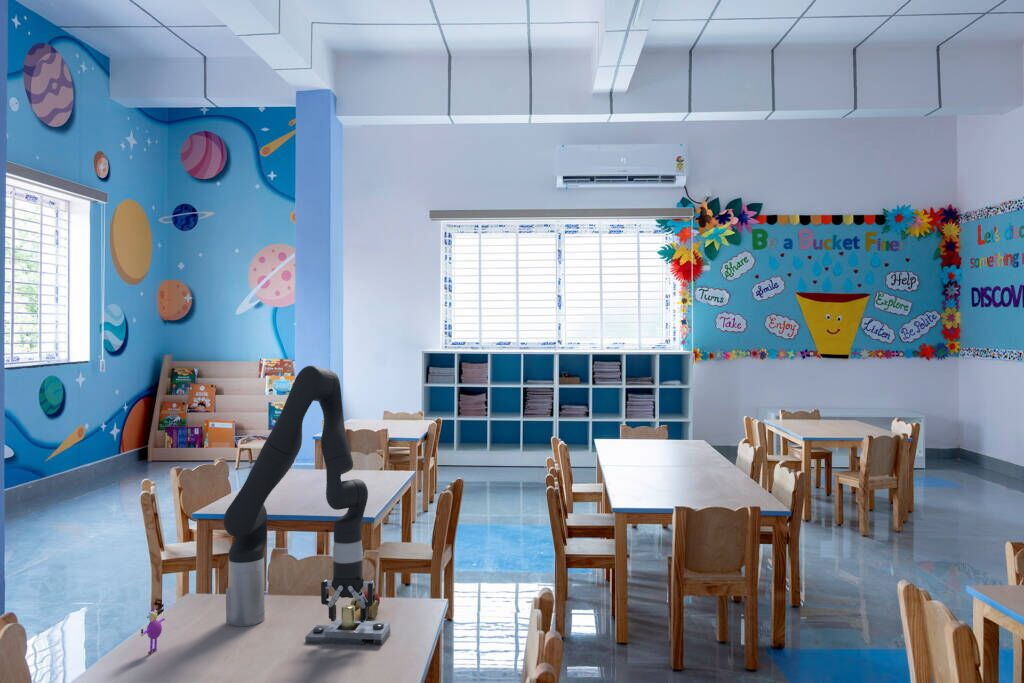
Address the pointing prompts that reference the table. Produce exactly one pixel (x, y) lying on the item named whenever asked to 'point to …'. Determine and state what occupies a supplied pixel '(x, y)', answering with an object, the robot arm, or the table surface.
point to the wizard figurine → (153, 627)
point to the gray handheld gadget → (350, 633)
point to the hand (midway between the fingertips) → (348, 620)
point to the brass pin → (348, 617)
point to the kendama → (371, 609)
